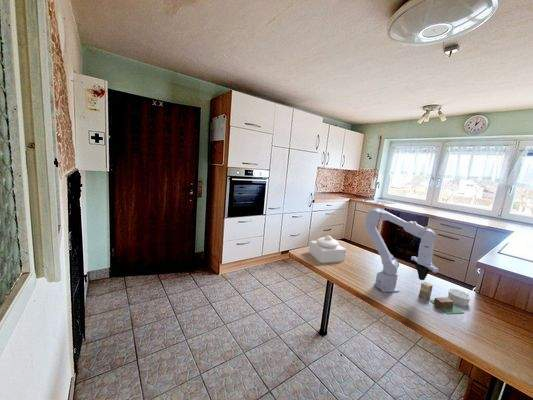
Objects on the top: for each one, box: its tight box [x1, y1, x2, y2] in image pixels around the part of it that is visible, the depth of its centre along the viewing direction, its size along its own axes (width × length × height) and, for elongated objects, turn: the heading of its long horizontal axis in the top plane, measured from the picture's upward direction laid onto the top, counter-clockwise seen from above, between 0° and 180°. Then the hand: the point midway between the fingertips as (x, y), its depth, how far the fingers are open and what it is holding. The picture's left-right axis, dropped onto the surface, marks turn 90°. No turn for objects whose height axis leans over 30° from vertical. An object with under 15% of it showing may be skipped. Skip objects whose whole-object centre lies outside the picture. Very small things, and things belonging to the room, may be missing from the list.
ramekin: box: [447, 288, 472, 307], centre depth 117 cm, size 9×9×4 cm
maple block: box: [418, 281, 434, 300], centre depth 118 cm, size 4×4×7 cm
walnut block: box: [433, 296, 455, 310], centre depth 111 cm, size 4×4×7 cm
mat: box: [429, 299, 465, 315], centre depth 111 cm, size 9×10×1 cm
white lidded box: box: [308, 235, 347, 264], centre depth 159 cm, size 18×18×16 cm
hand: (421, 279), depth 115 cm, fingers closed
